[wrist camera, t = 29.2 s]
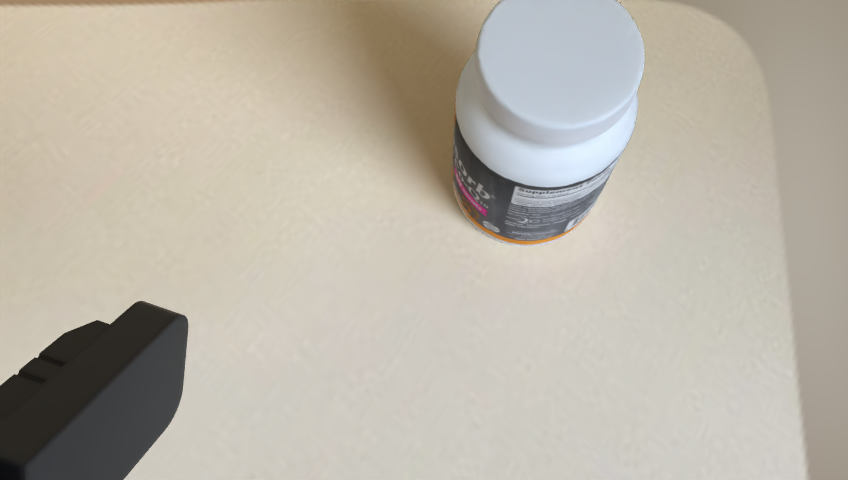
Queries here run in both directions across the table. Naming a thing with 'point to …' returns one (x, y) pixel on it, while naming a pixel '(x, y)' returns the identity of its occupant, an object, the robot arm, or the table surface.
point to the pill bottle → (544, 115)
